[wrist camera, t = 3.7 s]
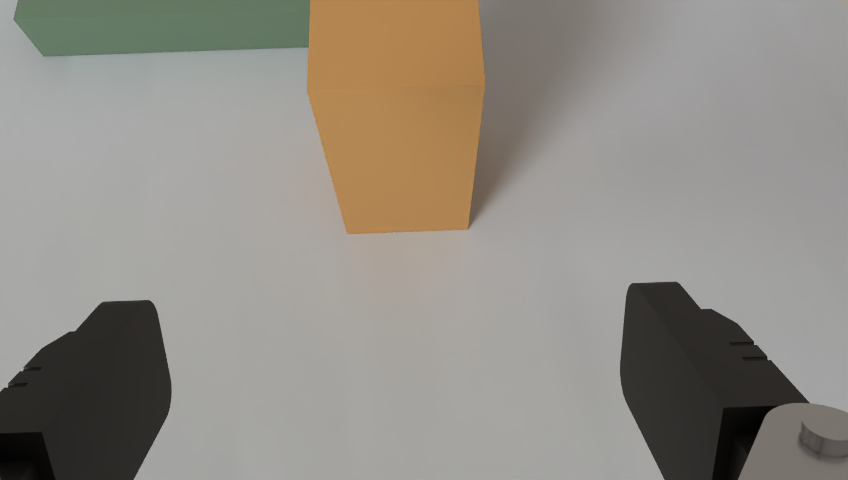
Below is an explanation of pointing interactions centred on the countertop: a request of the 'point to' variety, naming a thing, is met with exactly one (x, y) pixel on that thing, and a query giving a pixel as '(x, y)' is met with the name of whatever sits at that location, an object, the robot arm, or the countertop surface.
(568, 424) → the countertop surface
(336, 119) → the chute block
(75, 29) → the green base plate
